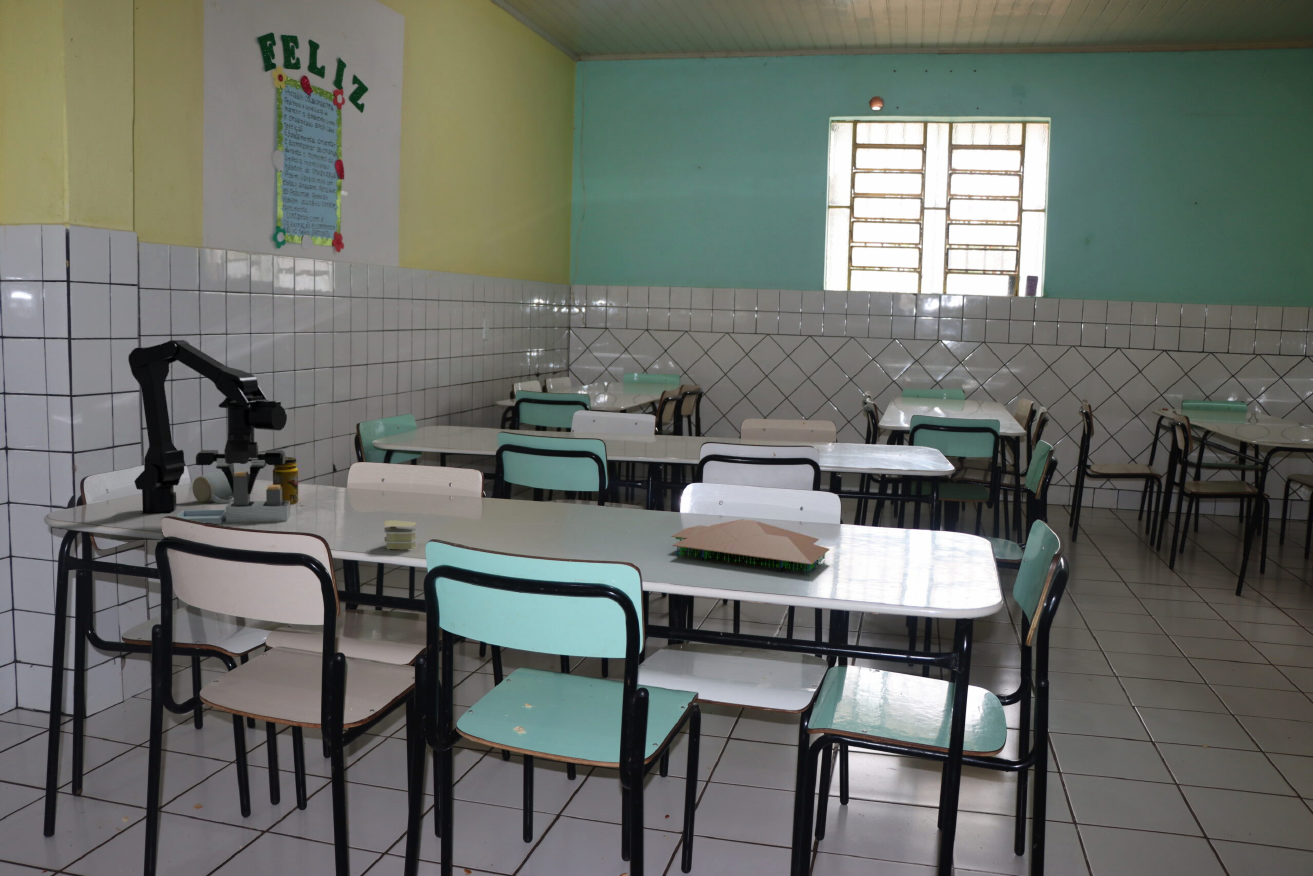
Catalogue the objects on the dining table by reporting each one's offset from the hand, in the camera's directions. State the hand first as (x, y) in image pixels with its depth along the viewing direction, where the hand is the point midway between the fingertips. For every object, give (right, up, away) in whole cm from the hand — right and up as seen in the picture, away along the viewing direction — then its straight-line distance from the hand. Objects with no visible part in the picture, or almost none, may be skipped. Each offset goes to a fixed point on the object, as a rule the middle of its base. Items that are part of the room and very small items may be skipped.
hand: (242, 494), depth 230 cm
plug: (0, -2, 0) cm, 2 cm away
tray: (-9, -6, -1) cm, 11 cm away
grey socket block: (+3, -6, +2) cm, 7 cm away
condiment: (+1, -4, +21) cm, 21 cm away
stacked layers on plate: (+42, -11, -20) cm, 47 cm away
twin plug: (+7, -6, +2) cm, 9 cm away
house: (+117, -13, -16) cm, 119 cm away
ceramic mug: (-15, -4, +21) cm, 26 cm away
